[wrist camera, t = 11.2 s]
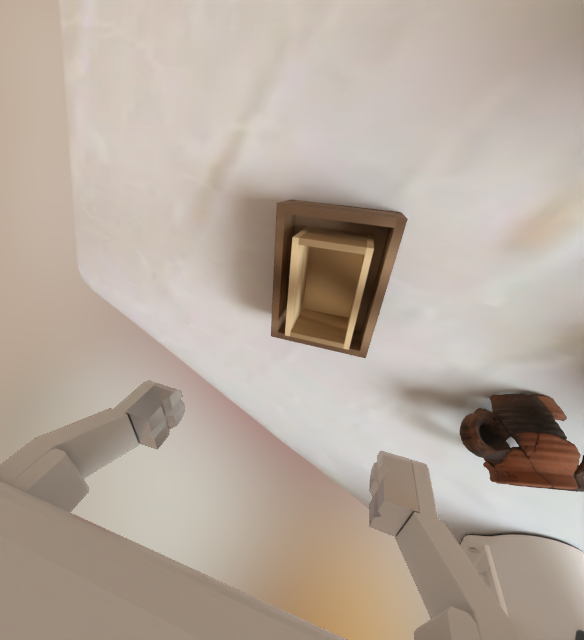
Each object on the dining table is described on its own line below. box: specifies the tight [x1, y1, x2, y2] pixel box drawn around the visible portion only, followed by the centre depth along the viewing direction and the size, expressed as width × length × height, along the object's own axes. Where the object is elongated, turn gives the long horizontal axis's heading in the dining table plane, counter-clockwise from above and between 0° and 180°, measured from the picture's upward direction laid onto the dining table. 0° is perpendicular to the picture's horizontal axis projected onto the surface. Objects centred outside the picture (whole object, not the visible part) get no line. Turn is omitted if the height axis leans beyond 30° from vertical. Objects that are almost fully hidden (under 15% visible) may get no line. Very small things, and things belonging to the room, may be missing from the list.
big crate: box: [271, 200, 407, 358], centre depth 24 cm, size 13×10×4 cm
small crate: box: [285, 226, 374, 350], centre depth 23 cm, size 9×6×6 cm, turn 176°
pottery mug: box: [460, 394, 584, 492], centre depth 27 cm, size 12×10×8 cm
